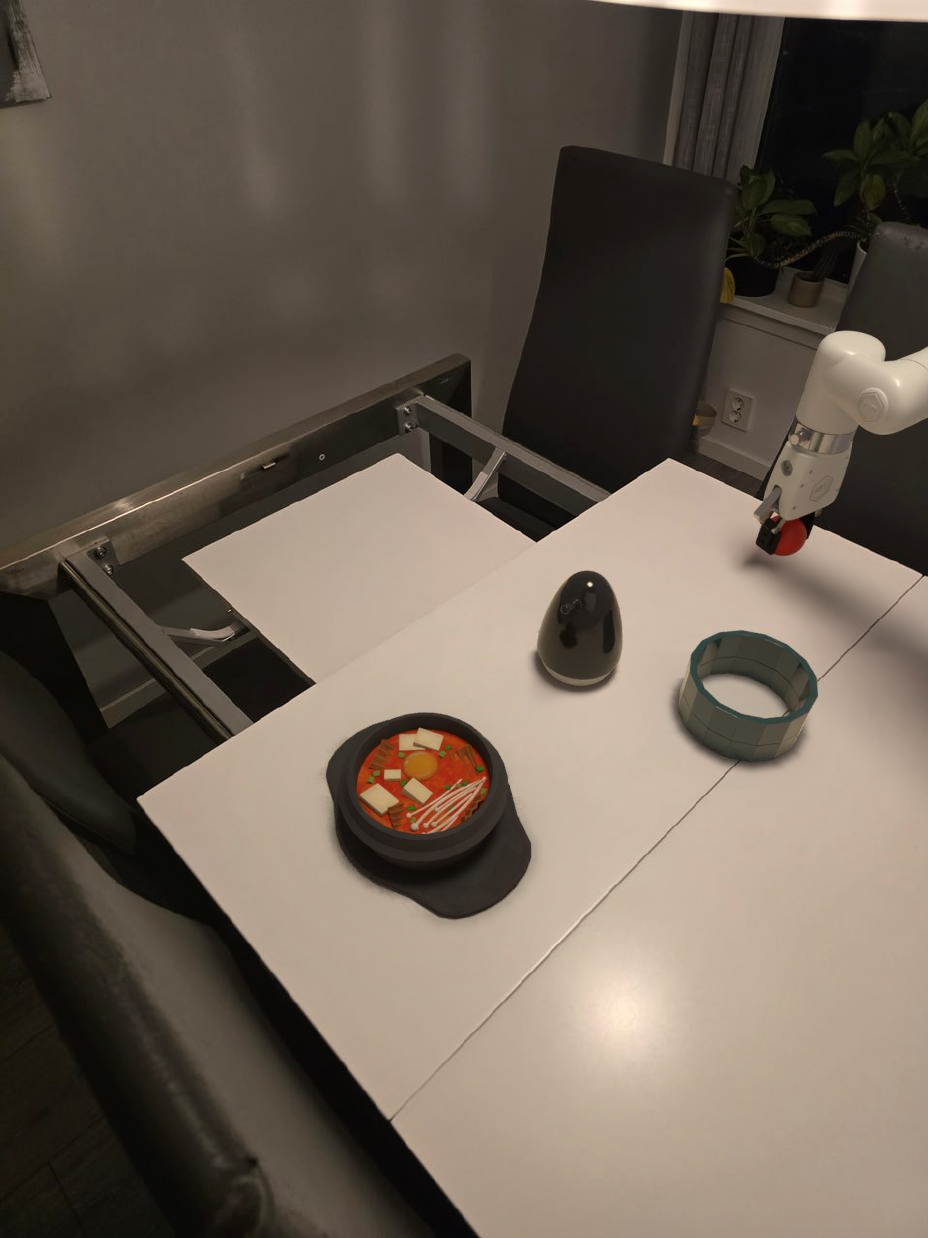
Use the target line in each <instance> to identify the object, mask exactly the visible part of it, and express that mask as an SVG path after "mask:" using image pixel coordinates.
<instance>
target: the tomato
mask: <svg viewBox="0 0 928 1238" xmlns="http://www.w3.org/2000/svg"><path fill="white" fill-rule="evenodd" d="M779 517H780V515H778V514H777V515H775V516H772V517H771V519H773V520H774V522H775V523H776V522H777V520H778V518H779ZM780 531H781V532H782V535H781V538H780V540H779V543H778V546H777V548H776V551H775V554H774V555H775V556H777V557H778V556H779V557H789V556H792V555H795V554H797V552H799V551H800V550H801V549H802V548H803V547H804V546H805V543H806V537H807V531H806V527H805V525H804V523H803V522H802V521H801V520H800V519H799V518H797V519H794V520H788V521H787V520H786V521H785V523H784V525H783V526H782V528H781V529H780Z"/></svg>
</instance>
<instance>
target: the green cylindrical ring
mask: <svg viewBox="0 0 928 1238" xmlns="http://www.w3.org/2000/svg"><path fill="white" fill-rule="evenodd" d="M723 674H733V675H737V676H744V677H747V678H751V679H753V680H755V681H757V682H759V683H761V684H763V685H765V686H766V687H769V688H770V689H771V690H772V691H773V692H774V693H775V694H776V695H778V696H779V697H780V698H781V699H782V701H783V702H784V704H785V706H786V707H787V709H788V712H789V714H787V715H784V716H775V717H774V716H773V717H766V718H765V717H760V716H756V715H750V714H744V713H741V712H739V711H738V710H735V709H733V708H731V707H729V706H727V705H725V704H723V703H721V702H720V701H719V700H717V699H716V697H715V696H714V695H712V694H711V693H710V692H709V691H708V689H706V688H705V686H704V684H703V682H702V679H703V680H704V679H705V678H706V677H709V676H711V675H712V676H713V675H723ZM818 688H819V687H818V677H817V675H816V674H815V672H814V670H813V669H812V667H811V666H810V664H809V662H808V660H807V659H806V658H804V657H803V656H802V655H801V654H800V653H798V652H797V651H796V650H795V649H794V648H793V647H791V646H790V645H789V644H787V643H785V642H783V641H780V639H777V638H774V637H772V636H770V635H768V634H766V633H759V632H755V631H749V630H743V629H739V630H727V631H719V632H717V633H714V634H712V635H710V636H708V637H706V638H704V639H701V641H700V642H699V643H698V644H697V646H696V647H695V648H694V649H693V651H692V652H691V654H690V656H689V659H688V663H687V666H686V670H685V672H684V676H683V680H682V683H681V686H680V689H679V694H678V704H677V711H678V713H679V715H680V717H681V720H682V722H683V725H684V727H685V729H687V731H688V732H690V734H691V735H692V736H693V737H694V738H695V739H696V740H697V741H698V742H699V743H700V744H701V745H702V746H705V747H706V748H708V749H710V750H712V751H714V752H715V753H718V754H719V755H721V756H723V757H726V758H730V759H735V760H740V761H745V762H758V761H759V762H760V761H767V760H774V759H776V758H778V757H780V756H781V755H783V754H784V753H786V752H788V751H790V750H791V749H792V748H793V746H794V744H795V742H796V741H797V739H798V737H799V736H800V734H801V731H802V730H803V728H804V725H805V724H806V722H807V719H808V718H809V715H810V714H811V712H812V709H813V707H814V706H815V704H816V701H817V700H818V697H819V689H818Z"/></svg>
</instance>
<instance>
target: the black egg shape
mask: <svg viewBox="0 0 928 1238" xmlns="http://www.w3.org/2000/svg"><path fill="white" fill-rule="evenodd" d="M623 633H624V632H623V620H622V614H621V610H620V605H619V601H618V597H617V595H616V593H615V589H614V588H613V586H612V584H611V582H609V580H608V579H607V578H606V577H605V576H604V575H603V574H601V573H599V572H597V571H594V570H587V569H586V570H580V571H577V572H575V573H573V574H571V575H570V576H568V578H567V579H566V580H564V581H563V583H562V584H561V585H560V586H559V588H558V589H557V590H556V592H555V594H554V595H553V597H552V599H551V600H550V603H549V604H548V606H547V608H546V611H545V613H544V615H543V618H542V621H541V624H540V627H539V631H538V634H537V639H536V650H537V654H538V656H539V659H540V660H541V662H542V665H543V666H544V668H545V670H546V671H547V672H548V673H549V674H550V675H551V677H552V678H554V679H556V680H557V681H559V682H561V683H563V684H566V685H569V686H576V687H588V686H591V685H595V684H598V683H599V682H601V681H602V680H604V679H605V678H606V677H608V676H609V675H610V674H611V672H612V671H613V670H615V668H616V667H617V665H619V662H620V660H621V657H622V652H623V645H624V644H623V641H624V640H623V637H624V636H623Z"/></svg>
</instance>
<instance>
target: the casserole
mask: <svg viewBox="0 0 928 1238" xmlns="http://www.w3.org/2000/svg"><path fill="white" fill-rule="evenodd" d="M325 775H326V778H327V782H328V786H329V788H330V791H331V796H332V797H333V806H334V807H333V808H334V822H335V831H336V833H337V837H338V839H339V843H340V846H341V847H342V849H343V851H344V853H345V854H346V855H347V858H348V859H349V860H350V861H351V862H352V863H353V864H354V865H355V866H356V867H357V868H358V869H359V870H360V871H361V873H363V874H365V875H367V876H368V877H369V878H370V879H372V880H374V881H375V882H378V883H380V884H382V885H386V886H388V887H390V888H393V889H395V890H397V891H399V892H400V891H401V892H403V893H405V894H408V895H410V896H411V897H413V898H414V899H416V900H418V901H419V902H420V903H422V904H424V905H425V906H427V907H429V908H430V909H432V910H433V911H435V912H437V913H438V914H440V915H446V916H452V917H457V916H458V917H459V916H463V915H464V916H465V915H469V914H473V913H475V912H479V911H481V910H483V909H485V908H488V907H490V906H491V905H493V904H494V903H496V902H498V901H500V900H501V899H503V898H504V897H505V896H506V895H507V894H508V893H509V892H510V891H511V890H513V888H514V887H515V886H516V885H517V884H518V883H519V882H520V880H521V879H522V877H523V876H524V874H525V873H526V871H528V870H527V869H528V867H529V865H530V861H531V859H532V841H531V840H530V838H529V836H528V834H527V832H526V830H525V828H524V826H523V824H522V821H521V818H520V817H519V815H518V812H517V808H516V804H515V800H514V796H513V792H512V788H511V785H510V783H509V776H508V772H507V769H506V764H505V762H504V761H503V758H502V757H501V755H500V753H499V750H498V749H497V748H496V747H495V746H494V745H493V743H491V741H490V740H489V739H488V738H486V737H485V736H484V735H483V734H482V732H480V731H479V730H478V729H476V728H475V727H474V726H472V724H470V723H468V722H466V721H464V720H462V719H460V718H458V717H455V716H451V715H448V714H445V713H438V712H430V711H429V712H421V711H419V712H413V713H406V714H403V715H399V716H395V717H392V718H390V719H386V720H383V721H379V722H377V723H376V722H375V723H373V724H371V725H369V726H366V727H364V728H363V729H360V730H359V731H357V732H356V733H354V734H352V735H351V737H349V738H347V739H346V740H345V741H344V742H343V743H341V745H340V746H339V747H338V748H337V749H336V750H335V751H334V753H333V754H332V756H331V757H330V759H329V760H328V762H327V766H326V771H325Z"/></svg>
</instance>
